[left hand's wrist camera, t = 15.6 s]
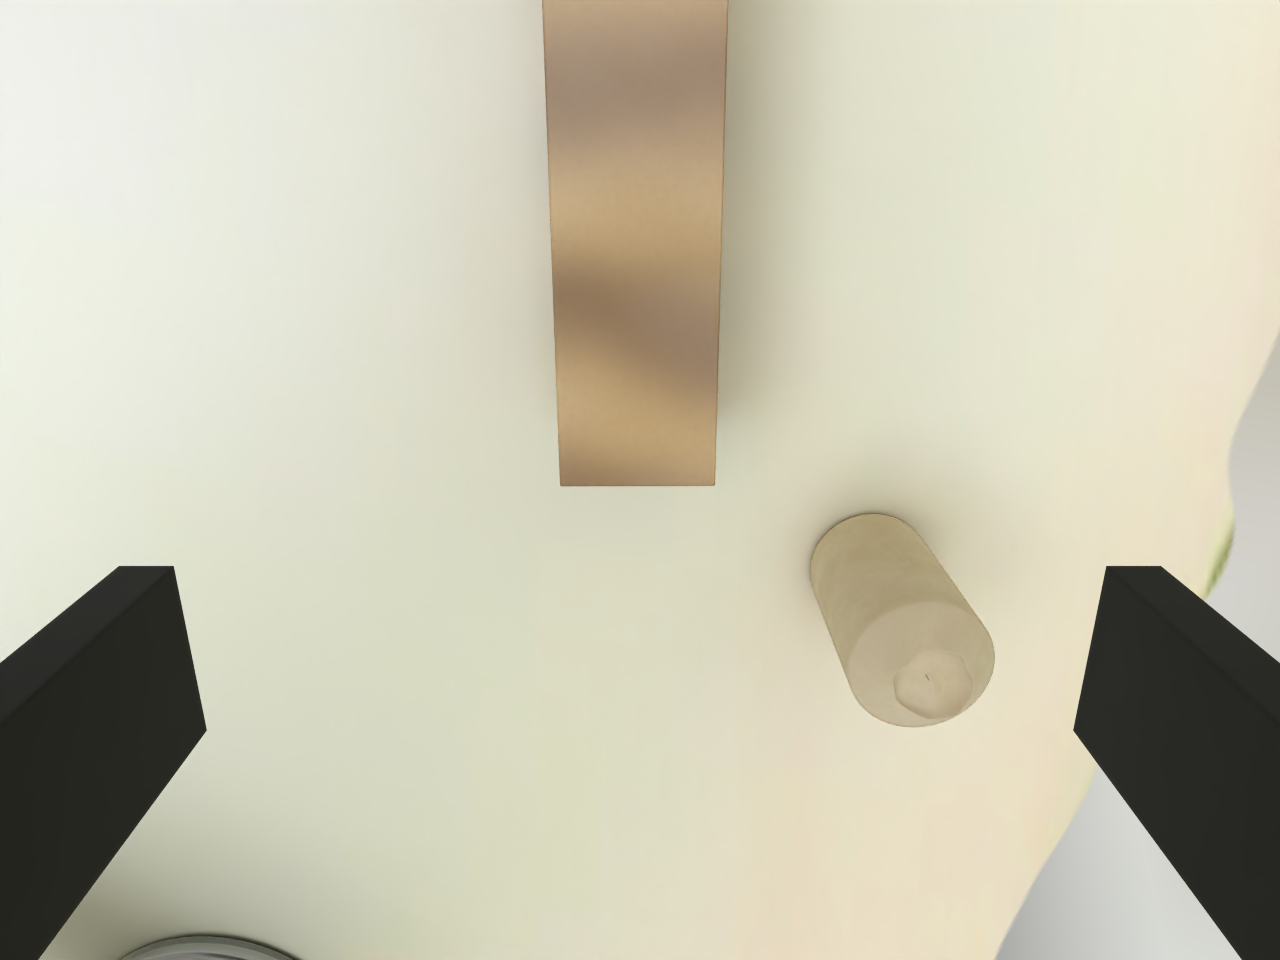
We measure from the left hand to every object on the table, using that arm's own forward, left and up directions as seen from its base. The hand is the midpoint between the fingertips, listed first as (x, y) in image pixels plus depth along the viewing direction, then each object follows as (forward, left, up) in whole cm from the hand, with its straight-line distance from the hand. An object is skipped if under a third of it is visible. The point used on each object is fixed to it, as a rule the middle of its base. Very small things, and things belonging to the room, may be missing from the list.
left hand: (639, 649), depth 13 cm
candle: (-16, -2, -27) cm, 31 cm away
